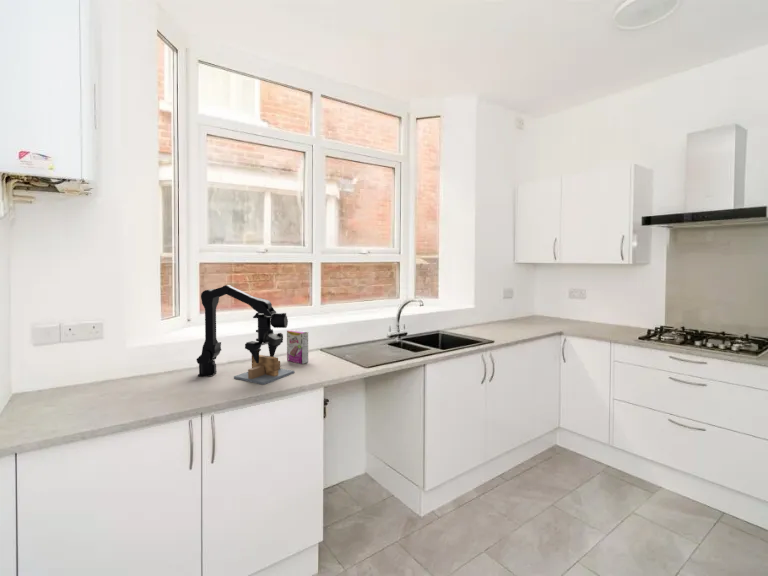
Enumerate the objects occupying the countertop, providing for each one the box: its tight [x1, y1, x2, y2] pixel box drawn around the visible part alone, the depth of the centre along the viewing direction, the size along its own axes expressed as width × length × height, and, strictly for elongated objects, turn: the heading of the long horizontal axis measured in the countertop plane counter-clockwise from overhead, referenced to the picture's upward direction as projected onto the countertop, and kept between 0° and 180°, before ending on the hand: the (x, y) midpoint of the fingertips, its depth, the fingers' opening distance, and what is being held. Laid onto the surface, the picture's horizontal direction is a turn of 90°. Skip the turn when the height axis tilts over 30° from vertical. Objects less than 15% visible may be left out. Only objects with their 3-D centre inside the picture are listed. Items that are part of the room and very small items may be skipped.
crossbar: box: [251, 354, 279, 376], centre depth 186 cm, size 14×2×8 cm, turn 63°
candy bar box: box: [286, 329, 309, 365], centre depth 210 cm, size 11×5×16 cm, turn 58°
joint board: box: [233, 360, 295, 385], centre depth 186 cm, size 20×18×5 cm
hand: (264, 360), depth 186 cm, fingers open, 9 cm apart
